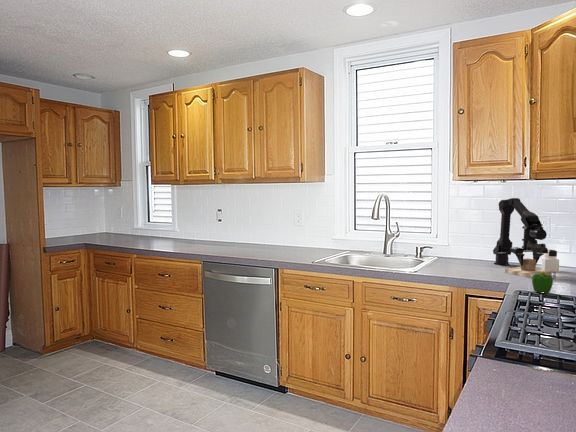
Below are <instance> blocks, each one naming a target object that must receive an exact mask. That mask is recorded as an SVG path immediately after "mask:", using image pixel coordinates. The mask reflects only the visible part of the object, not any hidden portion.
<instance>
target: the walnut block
mask: <svg viewBox="0 0 576 432" xmlns="http://www.w3.org/2000/svg"><path fill="white" fill-rule="evenodd" d="M536 265H537V264H536V260H534V259H533V258H532V259H531V258H529V257H528V258H523V266H521V265H520V267H521V270H525V271H535V269H537V268H536V267H537V266H536Z"/></svg>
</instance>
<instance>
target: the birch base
mask: <svg viewBox="0 0 576 432" xmlns="http://www.w3.org/2000/svg"><path fill="white" fill-rule="evenodd" d="M542 272H545V275H547V276H552V273H553V272H551V271H546V270H542V269H541V268H540V269H539V268H536V269H535V271H525V270H521V266H517V267H509V268H505V271H504V273H506V274H510V275H516V276H521V277H525V278H531V279H532V277H533V275H535V274H539V275H541V273H542Z"/></svg>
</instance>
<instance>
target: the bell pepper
mask: <svg viewBox="0 0 576 432" xmlns="http://www.w3.org/2000/svg"><path fill="white" fill-rule="evenodd" d="M531 283H532V284H531V285H532V288H533V291H534V292H535V291H538V292H537V293H539V292H544V293H547V294H549V293H550V292H551V290H552V288H553V284H554V279H553V276H552V275H550V276H547V275H545V272H542V273H541V275H539V274H535V275H533V277H532V278H531ZM544 293H543V294H544Z"/></svg>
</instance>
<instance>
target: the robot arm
mask: <svg viewBox="0 0 576 432" xmlns="http://www.w3.org/2000/svg"><path fill="white" fill-rule="evenodd" d="M498 211H499V213H500V214H501V218H500V231H499V232H500V233H499V238H498V240H497V241H496V245H495V247H494V248H493V250H492V253H493V255H495V262H493V264H494V265H498V266H508V265H510V263H509V260H510V259H509V256H510V255H511V254H514V255H515V256H516V258H517V261H518V262H519V264H520V265H519V266H520V267H521V266H523V259H524V256H525V253H532V259H534V260H536V265H537V264H538V262H539V259H540V258H541V257H543V256H544V253H548V250H549V249H548V248H547V247H546V246H547V245H546V244H545V243H538V240H539V241H543V240H545V239H546V238H547V231H546V230H545V229H544V227H543V226H542V223H541V220H540V217H539V216H538V215H537V214H536V213H534V212H532V211H530V210H529V209H528V208H527V207H526V205H524V204H523V202H522V201H521V199H520V198H519V197H511V198H509V199H501V200H500V201H498ZM514 211H516V212H517V214H518V215H519V216H520V221H521V223H522V224H523V226H522V227H521V229H523V238H521V241H523V243H522V244H523V245H521V247H518V246H513V241H511V239H510V231H511V230H510V229H511V215H512V214H513V212H514Z"/></svg>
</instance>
